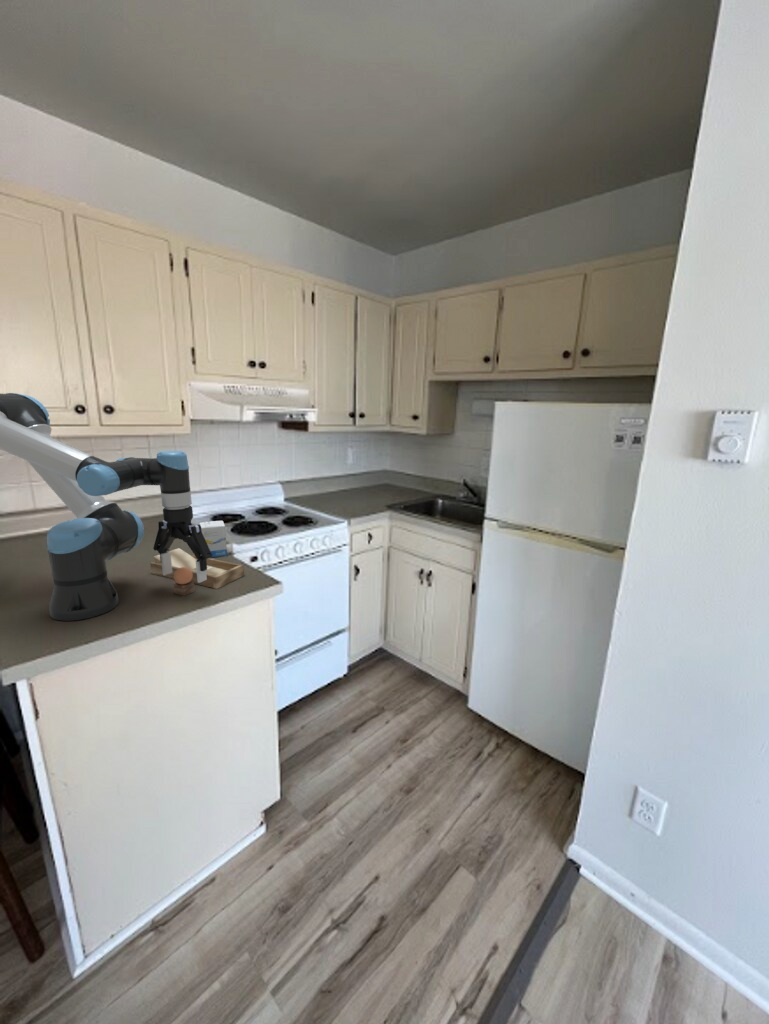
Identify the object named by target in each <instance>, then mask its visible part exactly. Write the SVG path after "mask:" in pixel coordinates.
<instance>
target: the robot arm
mask: <svg viewBox="0 0 769 1024" xmlns="http://www.w3.org/2000/svg"><path fill="white" fill-rule="evenodd" d="M49 417H50V414H49V411H48V410H47V408H46V407H45V405H44V404H43V403H42V402H41V401H39V400H38V399H36V397H35V398H34V397H33V396H31V395H26V394H21V393H15V392H7V393H0V450H2V451H4V452H5V453H8V454H11V455H14V456H15V457H18V458H19V459H22V460H24V461H27V463H28V465H30V466H31V467H32V468H33V469H34V471H35V472H37V474H38V475H39V476H40V477H41V478H42V480H43V481H44V482H45V483H46V484H47V485H48V487H49V488H50V489H51V490H52V491H53V492H54V494H55V495H57V497H58V498H59V499H60V500H61V501H62V502H63V504H64V505H65V506H66V507H67V508H68V509H69V510H70V511H71V512H72V514H73V516H75V517H76V518H73V519H72V520H65V521H63V522H59V523H57V524H55V525H53V526H52V527H50V528H49V529H48V531H47V533H46V541H47V542H46V548H47V552H48V557H49V562H50V569H51V574H52V579H53V589H52V593H51V598H50V601H49V606H48V610H49V616H50V617H51V618H52V619H53V620H57V621H65V622H66V621H67V622H68V621H69V622H70V621H80V620H85V619H86V620H87V619H91V618H94V617H97V616H100V615H104V614H106V613H107V612H110V611H111V610H113V609H114V608H116V607H117V606H118V604H119V595H118V592H117V590H116V588H115V587H114V585H113V583H112V581H111V579H110V578H109V576H108V569H107V562H108V561H109V560H112V559H113V558H116V557H119V556H120V555H122V554H126V553H128V552H131V550H133V549H134V548H136V547H137V546H138V545H140V544H141V542H142V540H143V538H144V532H145V529H144V523H143V522H142V520H141V518H140V517H139V515H137V514H136V513H134V512H133V511H129V510H126V509H125V510H122V508H121V507H120V506H119V505H118V504H117V503H116V502H115V501H108V500H107V499H105V497H104V496H107V495H110V494H113V493H117V492H120V491H124V490H128V489H133V488H136V487H141V486H159V487H160V498H161V499H160V500H161V506H162V507H163V509H162V513H163V520H161V521H158V530H157V534H156V537H155V540H154V544H153V550H154V551H157V552H158V554H159V555H160V559H161V563H162V570H163V575H167V574H170V573H172V563H171V553H170V552H169V551H170V548H171V546H172V544H173V543H174V541H175V540H176V539H178V540H182V542H184V543H186V544H187V546H188V547H189V549H190V550H191V552H192V553H193V555H195V556H196V558H197V559H198V560H196V570H197V581H198V583H200V582H203V581H205V580H207V575H206V570H207V561H206V560H207V559H208V558H210V557H211V558H213V557H212V554H211V551H210V549H209V547H208V545H207V543H206V540H205V538H204V536H203V534H202V530H201V526H200V525H199V524H196V525H193V524H192V520H193V518H194V513H193V506H192V504H193V502H192V493H191V485H190V483H191V481H190V472H189V471H190V470H189V469H190V466H189V460H188V455H187V453H186V452H185V451H183V450H164V451H159V452H157V453H156V458H154V457H153V458H150V457H149V458H147V457H146V458H145V457H134V456H133V457H132V456H130V457H121V458H118V459H116V461H115V460H114V461H107V460H103V459H102V458H99V457H96V456H95V455H93V454H90V453H87V452H85V451H83V450H80V449H78V448H77V447H76V448H75V447H73V446H72V445H69V444H67V443H64V442H62V441H60V440H57V439H56V438H53V437H52V436H51V434H52V430H53V429H52V426H51V425H50V424H51V419H50V418H49Z"/></svg>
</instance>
